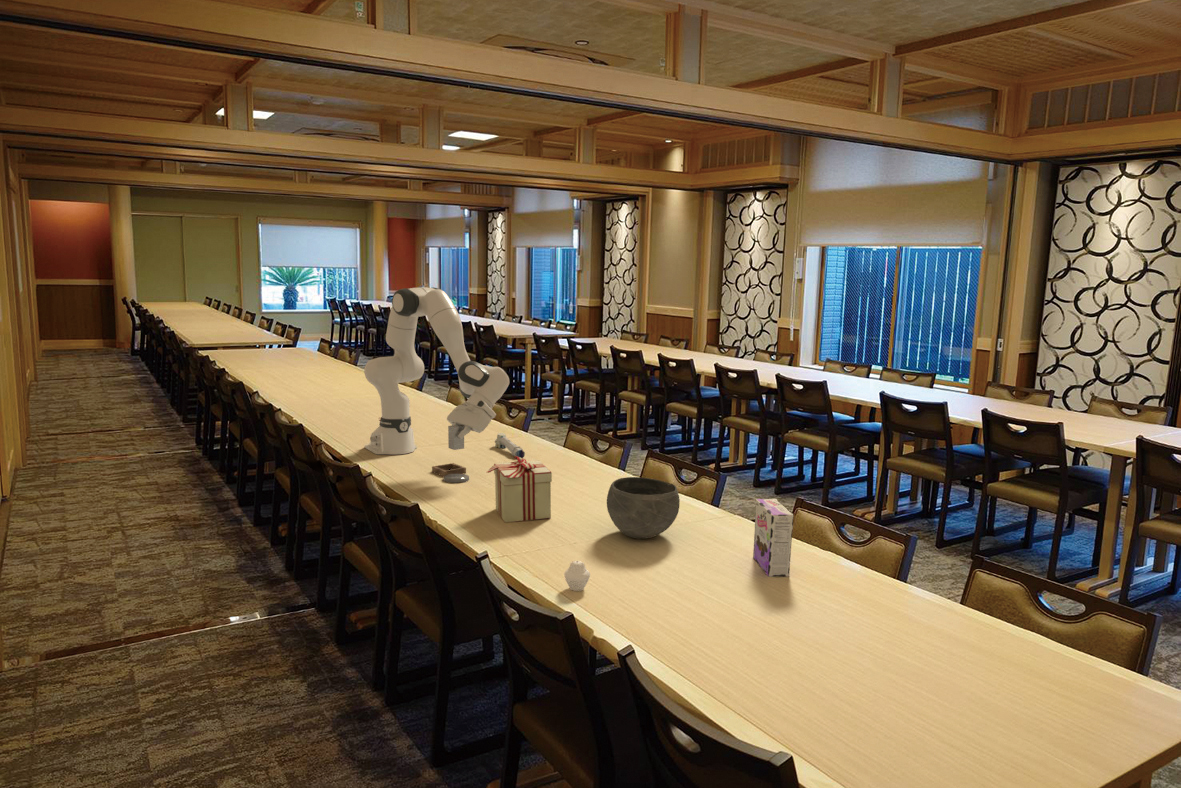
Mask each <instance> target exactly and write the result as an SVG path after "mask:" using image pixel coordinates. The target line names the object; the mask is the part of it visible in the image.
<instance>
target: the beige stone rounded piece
mask: <svg viewBox="0 0 1181 788" xmlns="http://www.w3.org/2000/svg"><path fill="white" fill-rule="evenodd" d="M585 565H586V564H585V563H584V562H583V561H581V560H574V561H572V562H571V563H570V564H569V566H568V568H567V569H566V570H565V571H564V579H565V582H566V583H567V586H568V587H569V589H570V591H573V592H582V591H583V590H585V587H586V586H587V584H588V582H589V580H590V578H591V574H590V571H589V570H588V569H587V568H586V566H585Z"/></svg>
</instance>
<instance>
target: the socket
mask: <svg viewBox="0 0 1181 788" xmlns="http://www.w3.org/2000/svg"><path fill="white" fill-rule="evenodd" d="M449 469H450V470H449ZM431 472H432V473H434V472H435V473H434V474H436V473H437V475H439V474H440V475H439V476H441V475H442V476H441V477H444V476H446V475H449V474H463V473H464V474H467V468H466V467H465V466H462V465H459V464H456V463H454V462H452V463H450V462H449V463H446V464H439V465H433V466H432V467H431Z"/></svg>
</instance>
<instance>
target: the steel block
mask: <svg viewBox="0 0 1181 788" xmlns="http://www.w3.org/2000/svg"><path fill="white" fill-rule="evenodd" d="M463 429H464V426H461V425H452V424H451V425H448V430H447V431H448V433H447V434H448V439H447V440H448V449H451V450H452V451H457V450H463V449H465V436H464V437H463V438H462V439H460V438H458V437H457V434H458V433H459V432H461V431H462V430H463Z"/></svg>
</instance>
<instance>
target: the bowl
mask: <svg viewBox="0 0 1181 788" xmlns="http://www.w3.org/2000/svg"><path fill="white" fill-rule="evenodd" d="M609 486H610V487H609V489H608V492H607V496H606V509H607V513H608V515H609V517H610V519H611V521H612V523H613V524H614V526H615V527H616V528H617V529H618V530H619V532H620V533H622V534H623V535H625V536H626V537H629V538H632V539H640V540H641V539H651V538H653V537H657V536H658V535H660V534H662V533H664V532H665V531H667V530H668V529H669V528H670V526H672V524H673V523H674V522H675V520H676V519H677V517H678V515H679V511H680V495H679V490H678V488H677V485H675V484H673V483H670V482H668V481H664V480H662V479H661V480H660V479H656V478H648V477H640V476H628V477H621V478H617V479H616V480H614V481H613V482H612V483H611V484H610V485H609Z"/></svg>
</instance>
